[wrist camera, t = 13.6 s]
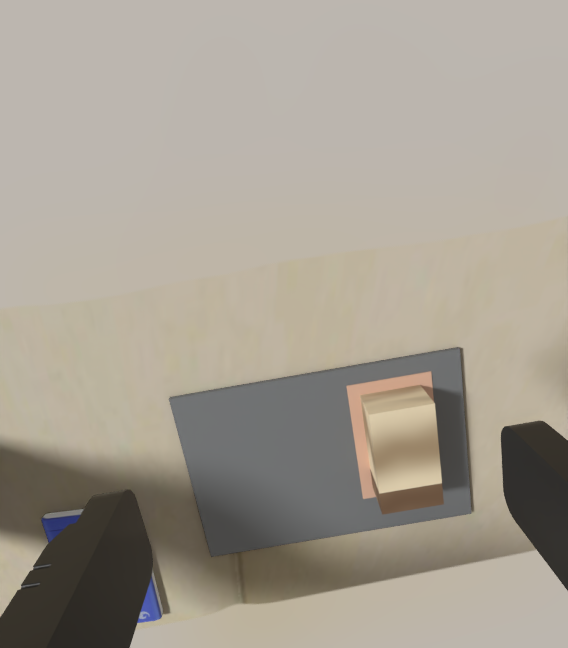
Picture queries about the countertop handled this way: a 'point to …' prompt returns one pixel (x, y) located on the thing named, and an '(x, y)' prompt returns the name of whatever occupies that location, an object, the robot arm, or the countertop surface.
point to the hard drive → (152, 601)
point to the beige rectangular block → (403, 448)
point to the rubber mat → (310, 452)
